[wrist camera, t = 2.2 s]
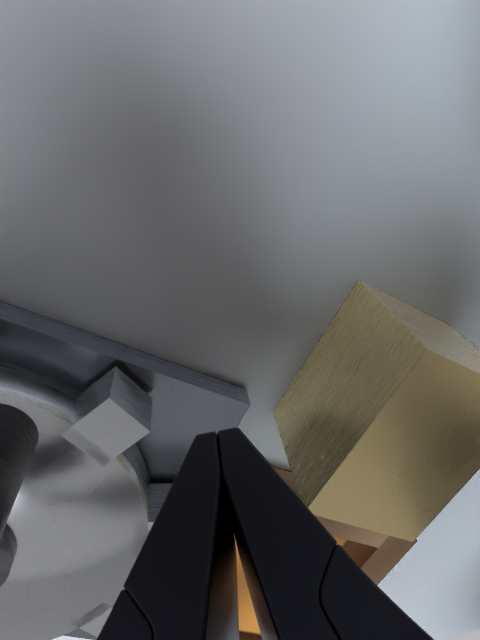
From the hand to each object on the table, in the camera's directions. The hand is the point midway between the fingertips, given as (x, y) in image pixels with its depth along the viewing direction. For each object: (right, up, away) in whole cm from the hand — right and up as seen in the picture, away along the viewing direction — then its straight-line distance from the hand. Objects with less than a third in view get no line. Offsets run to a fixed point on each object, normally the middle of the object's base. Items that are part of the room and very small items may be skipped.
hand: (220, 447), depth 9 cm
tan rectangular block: (+4, +1, +5) cm, 7 cm away
